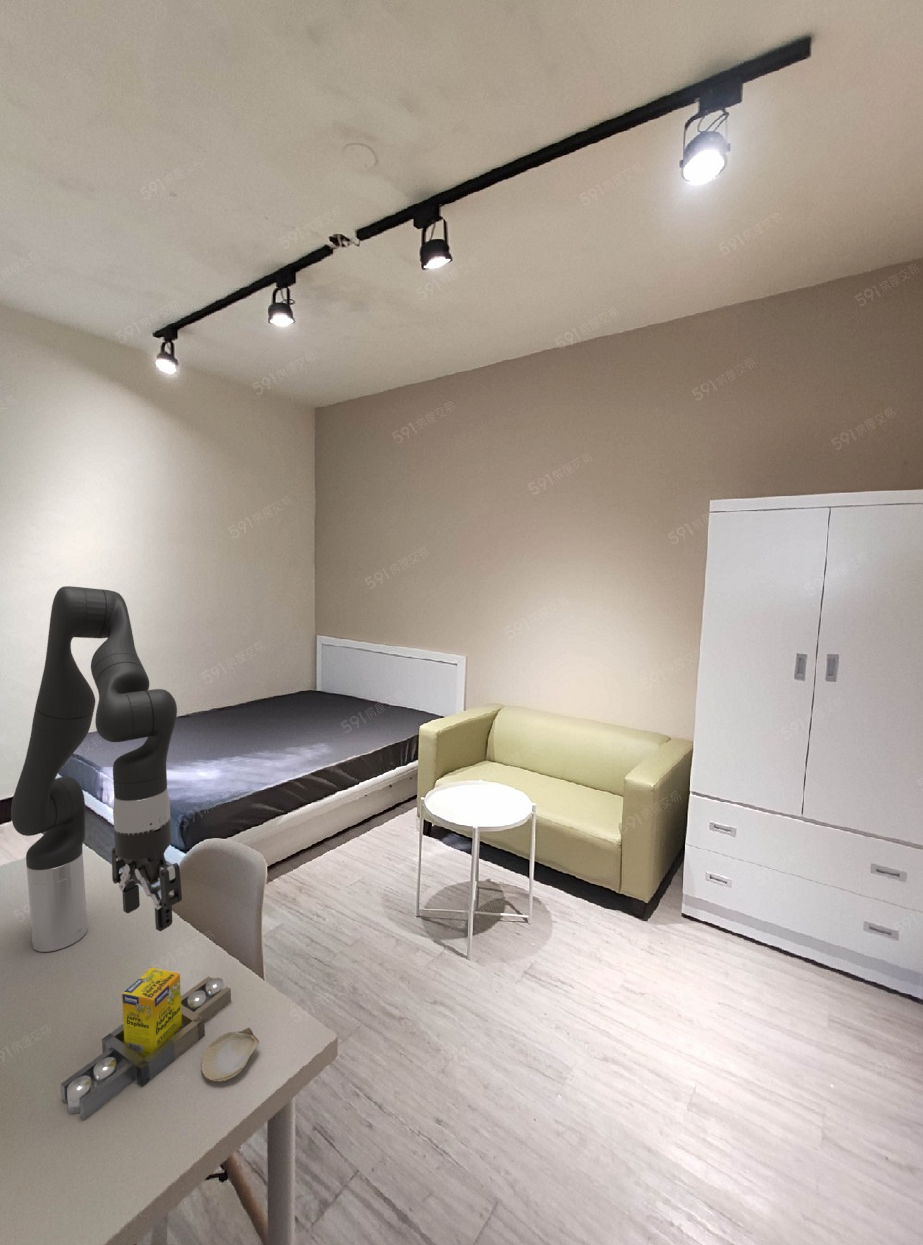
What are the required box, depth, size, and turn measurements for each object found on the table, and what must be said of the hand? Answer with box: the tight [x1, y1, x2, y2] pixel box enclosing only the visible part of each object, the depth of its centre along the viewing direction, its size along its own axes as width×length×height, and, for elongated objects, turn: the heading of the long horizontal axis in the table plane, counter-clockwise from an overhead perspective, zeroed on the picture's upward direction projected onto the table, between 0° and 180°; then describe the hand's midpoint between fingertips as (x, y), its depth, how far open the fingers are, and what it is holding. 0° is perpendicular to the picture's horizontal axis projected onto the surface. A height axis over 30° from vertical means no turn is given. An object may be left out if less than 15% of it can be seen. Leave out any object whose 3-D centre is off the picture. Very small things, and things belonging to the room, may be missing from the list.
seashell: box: [200, 1027, 260, 1083], centre depth 85 cm, size 8×3×8 cm
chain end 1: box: [60, 1023, 176, 1121], centre depth 83 cm, size 10×12×3 cm
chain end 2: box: [170, 976, 232, 1061], centre depth 93 cm, size 10×12×3 cm
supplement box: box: [121, 967, 182, 1059], centre depth 88 cm, size 6×6×11 cm
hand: (147, 918), depth 86 cm, fingers open, 8 cm apart
